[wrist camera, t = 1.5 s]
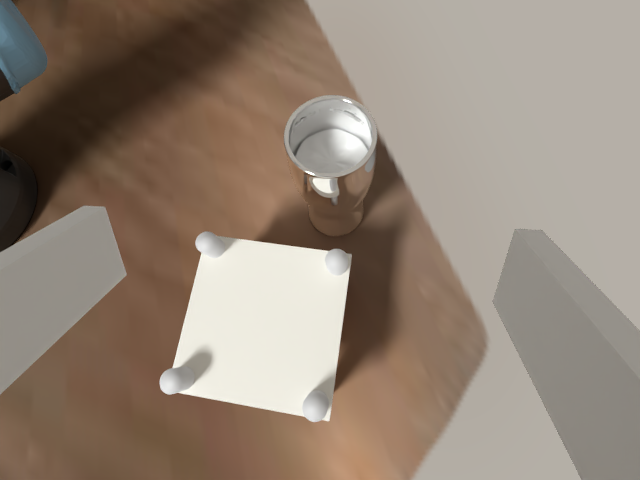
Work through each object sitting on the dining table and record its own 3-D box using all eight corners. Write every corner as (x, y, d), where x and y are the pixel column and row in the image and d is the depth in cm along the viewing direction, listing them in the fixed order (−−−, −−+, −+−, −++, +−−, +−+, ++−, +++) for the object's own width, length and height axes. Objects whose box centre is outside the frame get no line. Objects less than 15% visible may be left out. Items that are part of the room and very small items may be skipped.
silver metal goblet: (358, 175, 40) (365, 82, 25) (374, 232, 38) (392, 166, 23) (299, 189, 40) (272, 104, 25) (312, 247, 38) (291, 190, 23)
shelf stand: (204, 379, 35) (153, 394, 26) (232, 254, 38) (196, 227, 29) (333, 403, 33) (327, 427, 24) (350, 270, 37) (352, 248, 28)
